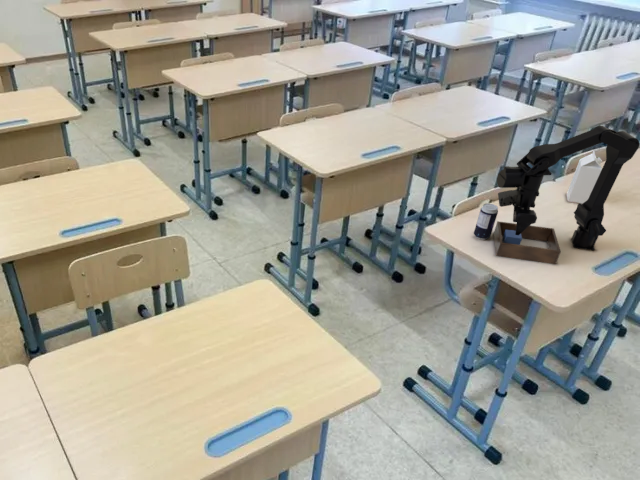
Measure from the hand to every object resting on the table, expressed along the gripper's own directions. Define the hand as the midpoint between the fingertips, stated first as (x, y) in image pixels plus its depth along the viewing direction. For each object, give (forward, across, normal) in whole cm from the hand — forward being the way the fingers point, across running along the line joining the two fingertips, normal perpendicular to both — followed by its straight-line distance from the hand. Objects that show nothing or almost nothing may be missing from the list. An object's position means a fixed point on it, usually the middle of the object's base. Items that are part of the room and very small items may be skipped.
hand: (515, 228), depth 188 cm
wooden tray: (+7, 0, +4) cm, 8 cm away
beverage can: (+7, -4, -9) cm, 12 cm away
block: (+7, 0, 0) cm, 7 cm away
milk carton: (+8, -45, +28) cm, 54 cm away
